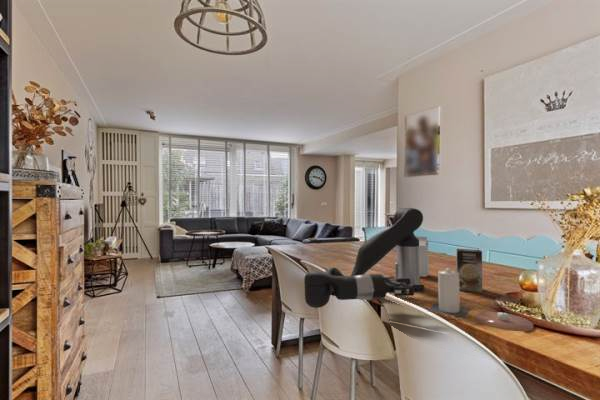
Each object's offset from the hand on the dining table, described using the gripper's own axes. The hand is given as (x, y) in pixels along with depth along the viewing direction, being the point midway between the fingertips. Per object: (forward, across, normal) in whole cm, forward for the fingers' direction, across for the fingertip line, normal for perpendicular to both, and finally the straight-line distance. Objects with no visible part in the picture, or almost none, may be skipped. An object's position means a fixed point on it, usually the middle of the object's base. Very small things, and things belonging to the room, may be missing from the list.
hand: (416, 284), depth 101 cm
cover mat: (+11, 0, -9) cm, 15 cm away
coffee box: (+35, -23, -9) cm, 43 cm away
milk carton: (+30, -51, -9) cm, 60 cm away
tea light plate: (+21, +12, -9) cm, 25 cm away
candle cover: (+11, 0, -8) cm, 14 cm away
